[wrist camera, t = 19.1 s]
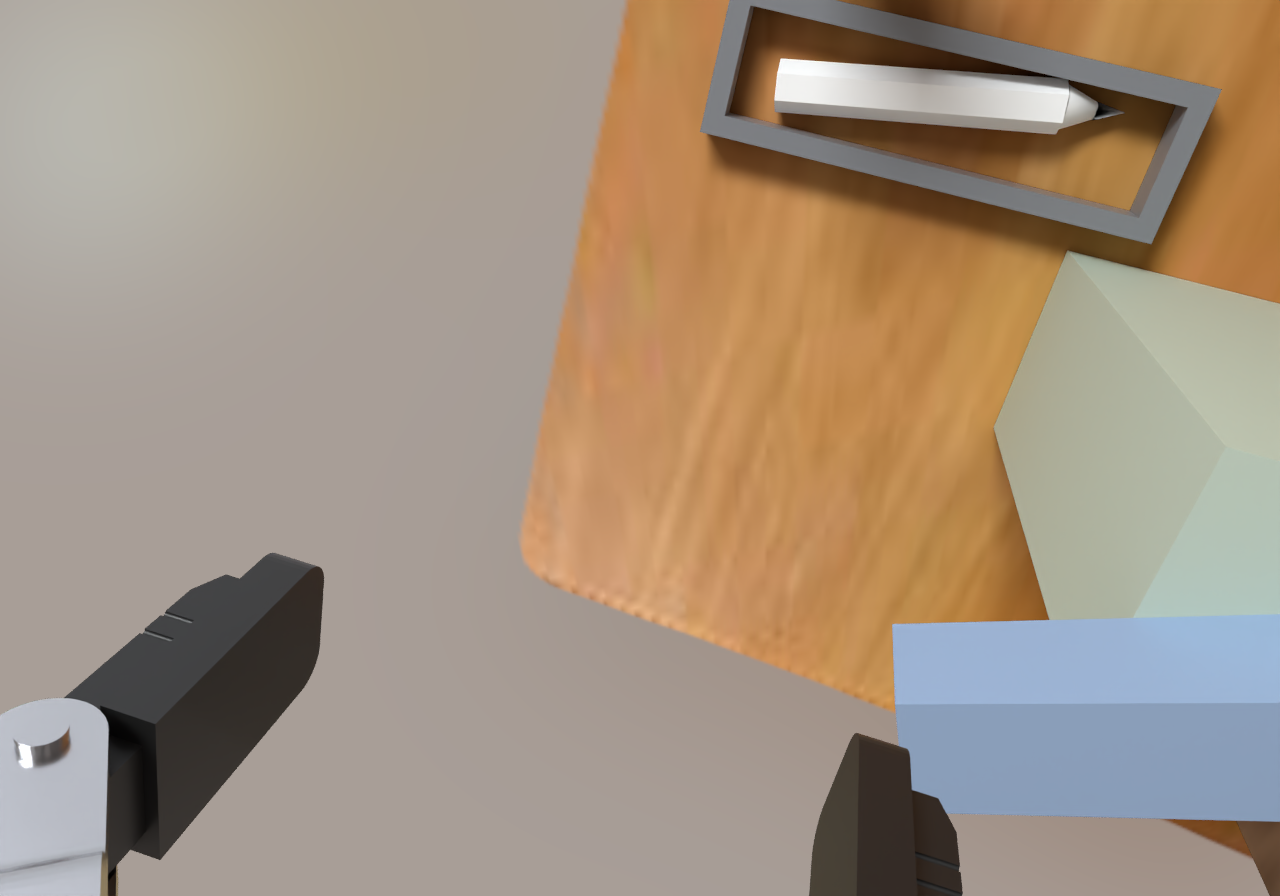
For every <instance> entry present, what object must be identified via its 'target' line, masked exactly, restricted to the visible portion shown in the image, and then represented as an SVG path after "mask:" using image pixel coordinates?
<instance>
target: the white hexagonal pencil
mask: <svg viewBox="0 0 1280 896" xmlns="http://www.w3.org/2000/svg"><path fill="white" fill-rule="evenodd" d="M774 101H775V112H783V113H795V114H808V115H820V116H832V117H845V118H857V119H870V120H882V121H894V122H907V123H919V124H931V125H944V126H956V127H969V128H981V129H993V130H1006V131H1018V132H1031V133H1043V134H1055V135H1056V133H1057V131H1058V130H1059V129H1062V128H1065V127H1069V126H1072V125H1075V124H1079V123H1082V122H1086V121H1089V120H1096V119H1100V118H1105V117H1109V116H1114V115H1118V114H1123V113H1124V112H1122V111H1119V110H1117V109H1114V108H1112V107H1109V106H1107V105H1104V104H1102V103H1099V102H1097V101H1095V100H1093V99H1092V98H1090V97H1088V96H1087V95H1085V94H1084V93H1082V92H1080V91H1079V90H1077V89H1076V88H1074V87H1072V86H1071V85H1069V82H1068V79H1062V78H1048V77H1034V76H1020V75H1006V74H992V73H978V72H964V71H949V70H935V69H921V68H907V67H893V66H879V65H865V64H851V63H837V62H823V61H809V60H795V59H781V60H780V64H779V69H778V73H777V82H776V91H775V100H774Z"/></svg>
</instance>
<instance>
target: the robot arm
mask: <svg viewBox="0 0 1280 896" xmlns="http://www.w3.org/2000/svg"><path fill="white" fill-rule="evenodd" d="M323 587H324V574H323V571H322V569H321V568H320V567H318V566H315V565H311V564H308V563H305V562H302V561H299V560H295V559H292V558H289V557H286V556H283V555H279V554H276V553H270V554H268V555H266V556H265V557H264V558H262V559H261V560H260V561H259V562H258V563H257V564H256V565H255V566H254V567H252V568H251V569H250V570H249V571H248V572H247V573H246V574H245V575H244V576H242V577H241V578H240V579H238V578H235V577H232V576H229V575H224V576H222V577H219V578H217V579H214V580H212V581H210V582H207V583H205V584H203V585H200V586H198V587H196V588H193V589H191V590H190V591H189V592H188V593H186V594H185V595H184V596H183V597H182V598H180V599H179V600H178V601H177V602H176V603H175V604H174V605H172V606H171V607H170V608H169V609H168V610H166V612H165V615H164V616H159V617H158V618H157V619H156V620H155V621H154V622H152V623H151V624H150V625H149V626H148V627H147V628H145V631H144V633H143V634H138V635H137V636H136V637H135V638H134V639H132V640H131V641H130V642H129V643H128V644H127V645H125V646H124V647H123V648H122V649H121V650H120V651H118V652H117V653H116V654H115V655H114V656H113V657H111V658H110V659H109V660H108V661H107V662H106V663H104V664H103V665H102V666H101V667H100V668H99V669H97V670H96V671H95V672H94V673H93V674H92V675H90V676H89V677H88V678H87V679H86V680H84V681H83V682H82V683H81V684H80V685H79V686H78V687H76V688H75V689H74V690H73V691H72V692H70V693H69V694H68V695H67V696H66V697H65V698H50V699H43V700H37V701H32V702H29V703H25V704H22V705H20V706H17V707H15V708H12V709H10V710H8V711H6V712H4V713H3V714H1V715H0V896H118V869H117V864H118V863H119V862H120V861H121V860H122V858H123V857H124V856H125V855H126V854H127V853H128V852H129V850H133V851H136V852H139V853H142V854H145V855H147V856H150V857H153V858H156V859H159V860H161V858H162V857H163V856H164V855H165V854H166V852H167V851H168V850H169V849H170V848H171V846H172V845H173V844H174V843H175V842H176V840H177V839H178V838H179V837H180V836H181V834H182V833H183V832H184V831H185V830H186V828H187V827H188V826H189V824H191V822H192V821H193V820H194V819H195V818H196V816H197V815H198V814H199V813H200V811H201V810H202V809H203V808H204V807H205V806H206V804H207V803H208V802H209V801H210V800H211V798H212V797H213V796H214V795H215V794H216V792H217V791H218V790H219V789H220V788H221V786H222V785H223V784H224V783H225V782H226V780H227V779H228V778H229V777H230V776H231V775H232V773H233V772H234V771H235V770H236V769H237V767H238V766H239V765H240V764H241V763H242V761H243V760H244V759H245V758H246V757H247V755H248V754H249V753H250V752H251V750H252V749H253V748H254V747H255V746H256V745H257V743H258V742H259V741H260V740H261V739H262V737H263V736H264V735H265V734H266V733H267V731H268V730H269V729H270V728H271V726H272V725H273V724H274V723H275V722H276V721H277V719H278V718H279V717H280V716H281V715H282V713H283V712H284V711H285V710H286V708H287V707H288V706H289V705H290V704H291V703H292V701H293V700H294V699H295V698H296V697H297V695H298V694H299V693H300V692H301V691H302V689H303V688H304V686H305V685H306V683H307V682H308V680H309V678H310V676H311V674H312V672H313V669H314V667H315V664H316V661H317V657H318V654H319V647H320V633H321V618H322V617H321V616H322V603H323ZM959 866H960V863H959V854H958V845H957V834H956V831H955V829H954V827H953V825H952V823H951V821H950V819H949V817H948V816H947V814H946V812H945V810H944V808H943V806H942V804H941V802H940V801H939V799H938V798H936V797H933V796H930V795H927V794H924V793H920V792H917V791H914V790H912V782H911V763H910V753H909V750H908V749H907V748H903V747H900V746H897V745H894V744H890V743H887V742H884V741H881V740H877V739H875V738H871V737H868V736H865V735H861V734H859V733H855V734H854V735H853V737H852V739H851V741H850V743H849V745H848V748H847V750H846V753H845V755H844V757H843V760H842V762H841V765H840V767H839V770H838V772H837V775H836V777H835V780H834V782H833V784H832V787H831V789H830V792H829V794H828V797H827V799H826V802H825V804H824V806H823V809H822V812H821V815H820V818H819V822H818V826H817V830H816V834H815V839H814V845H813V852H812V865H811V879H810V893H809V896H962V893H963V892H962V883H961V873H960V872H959Z"/></svg>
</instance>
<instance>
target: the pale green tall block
mask: <svg viewBox="0 0 1280 896" xmlns="http://www.w3.org/2000/svg"><path fill="white" fill-rule="evenodd" d="M994 431H995V434H996V438H997V441H998V445H999V448H1000V451H1001V455H1002V458H1003V462H1004V465H1005V469H1006V472H1007V476H1008V479H1009V482H1010V486H1011V489H1012V493H1013V496H1014V500H1015V503H1016V507H1017V510H1018V513H1019V517H1020V520H1021V524H1022V527H1023V531H1024V534H1025V538H1026V541H1027V544H1028V548H1029V551H1030V555H1031V558H1032V562H1033V565H1034V569H1035V572H1036V575H1037V579H1038V582H1039V586H1040V589H1041V593H1042V596H1043V599H1044V603H1045V606H1046V610H1047V613H1048V617H1049V620H1074V619H1113V618H1152V617H1190V616H1229V615H1268V614H1280V304H1278V303H1274V302H1270V301H1266V300H1262V299H1258V298H1254V297H1250V296H1246V295H1242V294H1239V293H1235V292H1231V291H1227V290H1223V289H1219V288H1215V287H1211V286H1207V285H1203V284H1199V283H1195V282H1191V281H1187V280H1183V279H1179V278H1175V277H1171V276H1167V275H1163V274H1159V273H1155V272H1151V271H1147V270H1143V269H1139V268H1135V267H1131V266H1128V265H1124V264H1120V263H1116V262H1112V261H1108V260H1104V259H1100V258H1096V257H1092V256H1088V255H1084V254H1080V253H1076V252H1072V251H1068V250H1067V253H1066V255H1065V257H1064V260H1063V262H1062V265H1061V267H1060V269H1059V272H1058V274H1057V277H1056V279H1055V281H1054V284H1053V286H1052V289H1051V291H1050V293H1049V296H1048V298H1047V301H1046V303H1045V305H1044V308H1043V310H1042V313H1041V315H1040V317H1039V320H1038V322H1037V325H1036V327H1035V329H1034V332H1033V334H1032V337H1031V339H1030V341H1029V344H1028V346H1027V349H1026V351H1025V353H1024V356H1023V358H1022V361H1021V363H1020V366H1019V368H1018V370H1017V373H1016V375H1015V378H1014V380H1013V382H1012V385H1011V387H1010V390H1009V392H1008V394H1007V397H1006V399H1005V402H1004V404H1003V406H1002V409H1001V411H1000V414H999V416H998V418H997V421H996V423H995V426H994Z"/></svg>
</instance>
